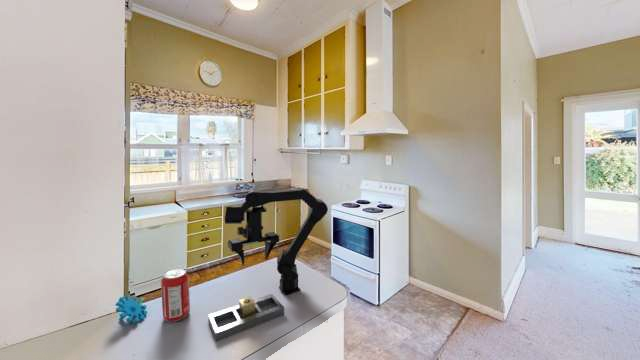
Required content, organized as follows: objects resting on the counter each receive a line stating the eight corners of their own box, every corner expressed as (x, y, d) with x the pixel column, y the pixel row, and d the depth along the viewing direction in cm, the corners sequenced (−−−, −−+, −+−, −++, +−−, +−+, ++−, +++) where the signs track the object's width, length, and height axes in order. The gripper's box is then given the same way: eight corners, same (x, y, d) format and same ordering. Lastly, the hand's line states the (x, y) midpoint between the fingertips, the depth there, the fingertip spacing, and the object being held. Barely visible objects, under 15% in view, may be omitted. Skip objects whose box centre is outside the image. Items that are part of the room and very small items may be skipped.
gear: (135, 325, 78) (111, 302, 77) (120, 339, 77) (96, 316, 77) (156, 307, 89) (135, 287, 88) (143, 320, 88) (122, 300, 88)
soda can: (171, 327, 79) (168, 281, 78) (158, 318, 83) (155, 274, 82) (194, 314, 86) (193, 271, 84) (182, 306, 90) (180, 265, 88)
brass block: (251, 313, 87) (251, 296, 86) (255, 319, 84) (255, 301, 83) (239, 317, 85) (239, 299, 84) (243, 323, 81) (243, 305, 81)
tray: (271, 300, 94) (271, 293, 94) (284, 314, 86) (284, 307, 86) (208, 322, 82) (208, 314, 82) (216, 341, 74) (215, 333, 73)
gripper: (268, 215, 109) (268, 250, 111) (223, 221, 98) (224, 260, 100) (280, 221, 100) (280, 259, 102) (231, 229, 89) (232, 271, 91)
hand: (254, 262), depth 99 cm, fingers open, 9 cm apart
